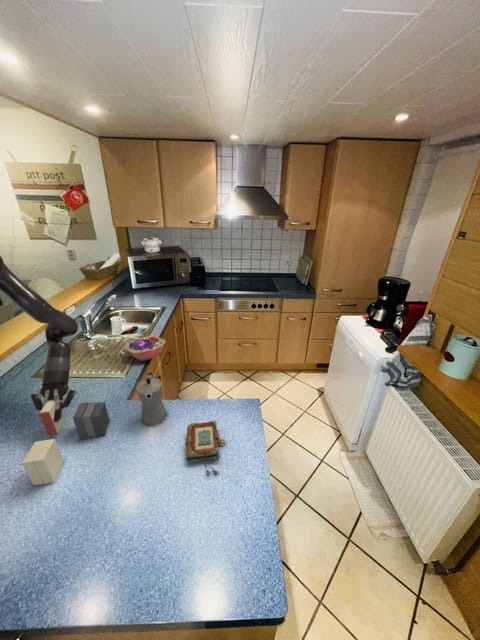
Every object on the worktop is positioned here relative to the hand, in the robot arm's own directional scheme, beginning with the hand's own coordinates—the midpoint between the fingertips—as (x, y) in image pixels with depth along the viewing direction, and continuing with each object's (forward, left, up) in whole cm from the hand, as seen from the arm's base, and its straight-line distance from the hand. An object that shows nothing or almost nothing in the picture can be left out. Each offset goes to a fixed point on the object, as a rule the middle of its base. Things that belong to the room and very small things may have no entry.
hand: (50, 422), depth 84 cm
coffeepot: (+32, 0, -8) cm, 34 cm away
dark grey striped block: (+12, 0, -8) cm, 14 cm away
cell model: (+32, +44, -8) cm, 55 cm away
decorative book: (+47, -23, -8) cm, 53 cm away
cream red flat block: (0, +2, -4) cm, 5 cm away
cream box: (+1, -13, -8) cm, 16 cm away
